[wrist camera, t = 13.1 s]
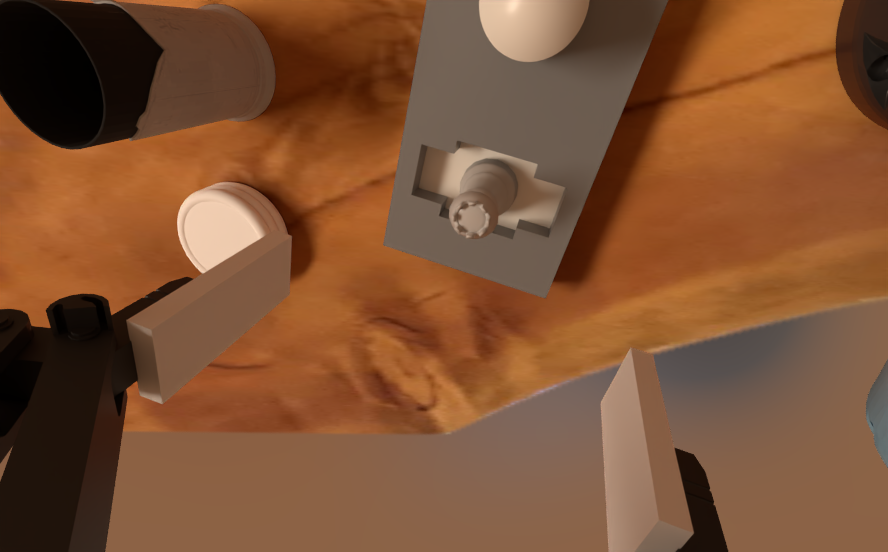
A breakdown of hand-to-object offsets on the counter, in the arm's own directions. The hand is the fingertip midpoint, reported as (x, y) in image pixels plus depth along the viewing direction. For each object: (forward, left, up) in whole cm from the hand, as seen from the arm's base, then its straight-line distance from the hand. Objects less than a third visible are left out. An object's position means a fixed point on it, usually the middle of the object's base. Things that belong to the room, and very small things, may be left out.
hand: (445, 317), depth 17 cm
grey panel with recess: (+1, -5, -21) cm, 22 cm away
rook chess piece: (+1, +1, -21) cm, 21 cm away
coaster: (+23, +13, -22) cm, 35 cm away
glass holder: (+27, -3, -22) cm, 35 cm away
